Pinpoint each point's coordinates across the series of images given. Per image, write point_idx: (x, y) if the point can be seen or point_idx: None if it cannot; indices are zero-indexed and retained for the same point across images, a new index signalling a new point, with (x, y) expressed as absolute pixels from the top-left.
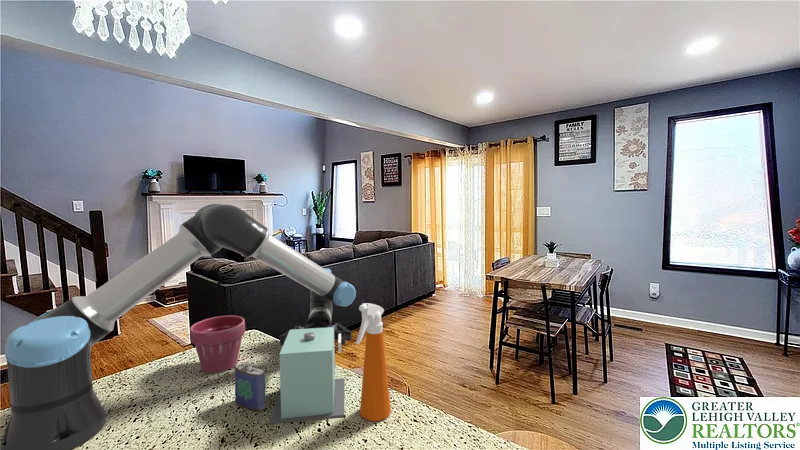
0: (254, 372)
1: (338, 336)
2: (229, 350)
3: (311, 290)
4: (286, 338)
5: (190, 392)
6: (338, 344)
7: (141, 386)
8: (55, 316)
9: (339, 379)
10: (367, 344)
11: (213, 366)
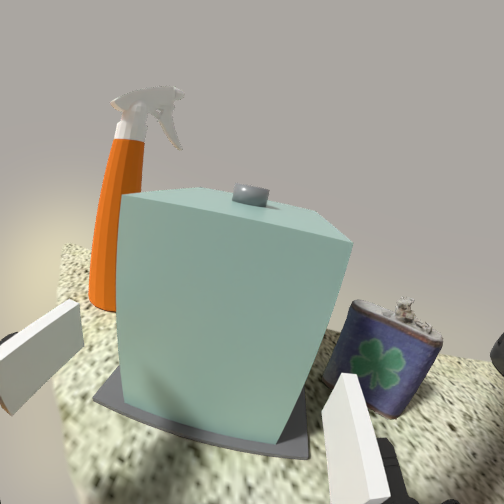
0: (375, 305)
1: (20, 344)
2: None
3: None
4: (330, 224)
5: (495, 437)
6: (78, 310)
7: None
8: None
9: (108, 400)
10: (142, 164)
11: None
